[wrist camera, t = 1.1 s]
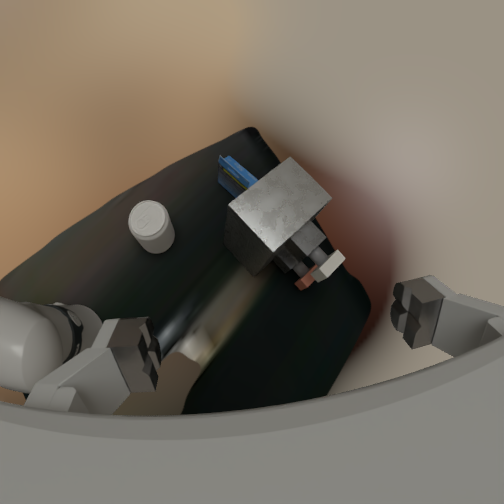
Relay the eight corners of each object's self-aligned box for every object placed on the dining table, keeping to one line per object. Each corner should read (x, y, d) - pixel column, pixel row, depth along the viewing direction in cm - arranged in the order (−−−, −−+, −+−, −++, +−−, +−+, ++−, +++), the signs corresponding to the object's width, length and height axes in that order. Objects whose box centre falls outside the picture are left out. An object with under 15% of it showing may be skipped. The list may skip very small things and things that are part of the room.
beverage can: (182, 237, 68) (176, 218, 56) (155, 261, 65) (143, 247, 54) (159, 212, 68) (150, 190, 57) (133, 235, 66) (118, 217, 55)
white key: (317, 282, 54) (327, 277, 49) (296, 259, 54) (303, 252, 49) (335, 264, 55) (345, 258, 50) (314, 241, 55) (323, 233, 51)
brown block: (300, 290, 64) (307, 287, 59) (282, 271, 65) (288, 266, 60) (315, 275, 65) (323, 270, 61) (298, 256, 66) (304, 250, 61)
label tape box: (255, 196, 72) (263, 171, 60) (243, 207, 71) (249, 183, 59) (228, 172, 73) (231, 144, 61) (216, 183, 72) (217, 155, 60)
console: (266, 290, 67) (291, 271, 46) (223, 243, 68) (228, 204, 47) (310, 249, 70) (348, 215, 49) (268, 205, 72) (290, 156, 51)
